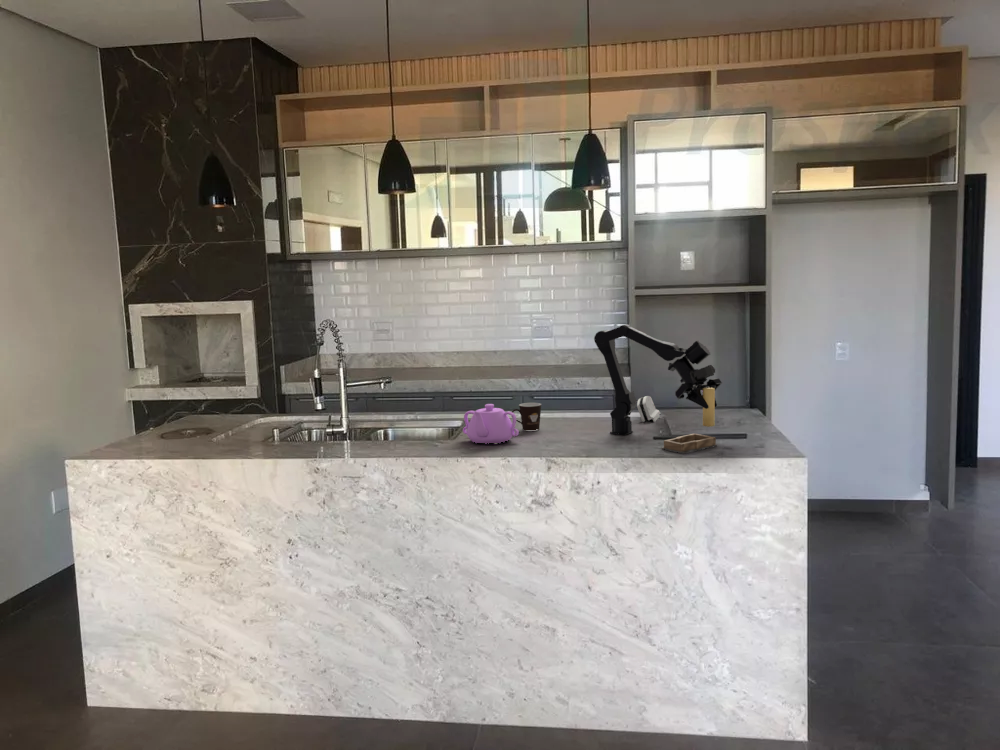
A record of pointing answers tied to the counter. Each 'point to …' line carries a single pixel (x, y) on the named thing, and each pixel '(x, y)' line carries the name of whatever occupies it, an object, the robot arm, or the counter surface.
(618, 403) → the robot arm
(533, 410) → the coffee mug
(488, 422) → the teapot
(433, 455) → the counter surface
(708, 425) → the peg
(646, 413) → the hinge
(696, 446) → the frame
